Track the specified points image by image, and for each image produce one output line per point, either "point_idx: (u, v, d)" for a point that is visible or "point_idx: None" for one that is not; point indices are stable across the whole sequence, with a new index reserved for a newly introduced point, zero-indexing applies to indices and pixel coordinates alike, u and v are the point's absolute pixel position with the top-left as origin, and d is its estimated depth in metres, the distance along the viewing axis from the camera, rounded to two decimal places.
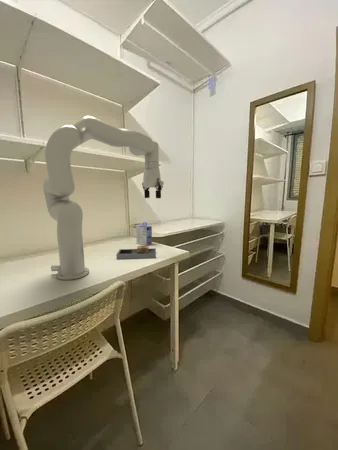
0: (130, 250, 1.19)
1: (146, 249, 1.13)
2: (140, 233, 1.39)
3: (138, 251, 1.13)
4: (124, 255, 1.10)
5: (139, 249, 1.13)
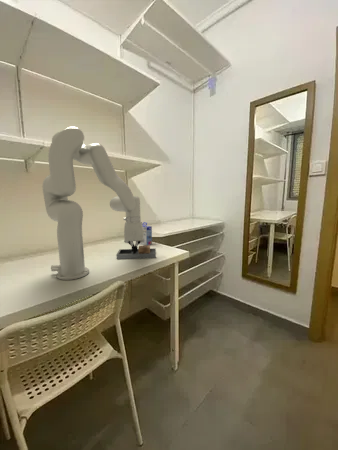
0: (130, 250, 1.19)
1: (148, 249, 1.13)
2: None
3: (140, 251, 1.13)
4: (124, 255, 1.10)
5: (141, 249, 1.13)
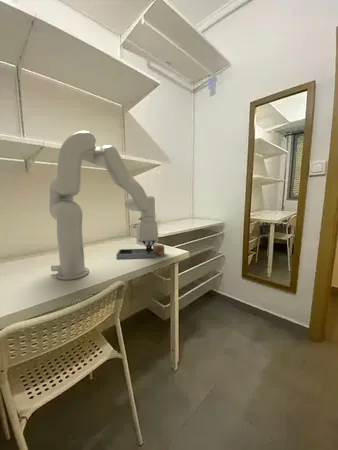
0: (130, 250, 1.19)
1: (162, 248, 1.13)
2: None
3: (154, 250, 1.13)
4: (124, 255, 1.10)
5: (155, 248, 1.13)
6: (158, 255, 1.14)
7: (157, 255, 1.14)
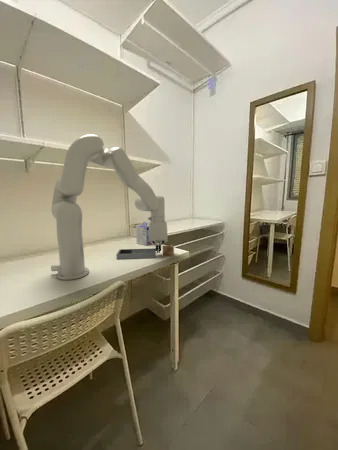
0: (130, 250, 1.19)
1: (172, 248, 1.14)
2: (140, 233, 1.39)
3: (164, 250, 1.13)
4: (124, 255, 1.10)
5: (165, 248, 1.13)
6: (167, 255, 1.14)
7: (166, 255, 1.14)
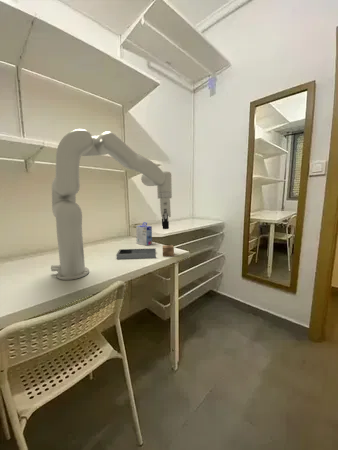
0: (130, 250, 1.19)
1: (172, 248, 1.14)
2: (140, 233, 1.39)
3: (164, 250, 1.13)
4: (124, 255, 1.10)
5: (165, 248, 1.13)
6: (167, 255, 1.14)
7: (166, 255, 1.14)
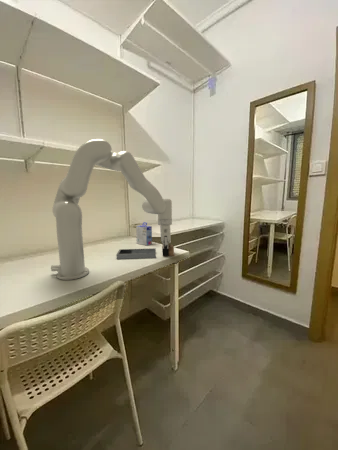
0: (130, 250, 1.19)
1: (172, 248, 1.14)
2: (140, 233, 1.39)
3: None
4: (124, 255, 1.10)
5: None
6: None
7: None
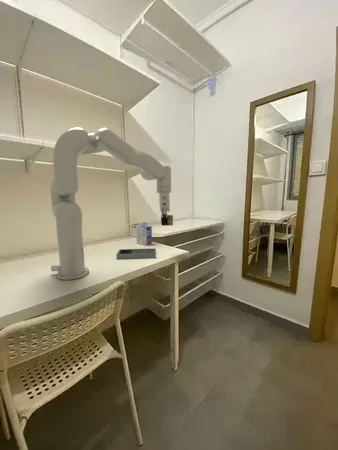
0: (130, 250, 1.19)
1: (171, 217, 1.11)
2: (140, 233, 1.39)
3: None
4: (124, 255, 1.10)
5: None
6: None
7: None
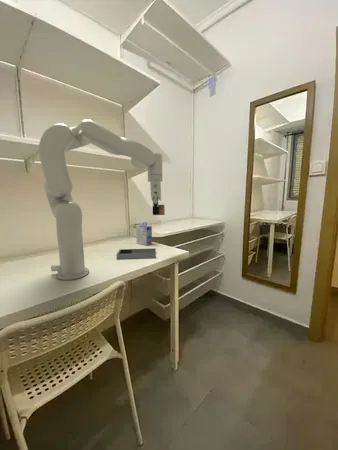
0: (130, 250, 1.19)
1: (162, 206, 1.08)
2: (140, 233, 1.39)
3: None
4: (124, 255, 1.10)
5: None
6: None
7: None
